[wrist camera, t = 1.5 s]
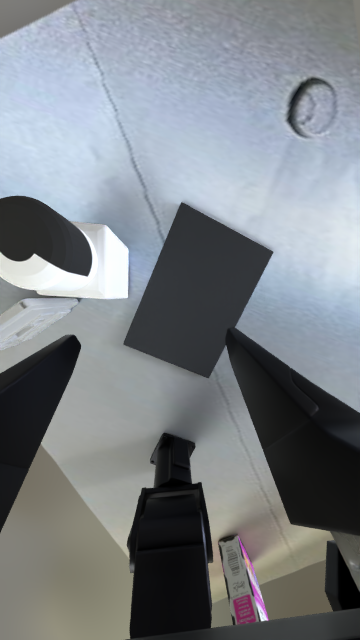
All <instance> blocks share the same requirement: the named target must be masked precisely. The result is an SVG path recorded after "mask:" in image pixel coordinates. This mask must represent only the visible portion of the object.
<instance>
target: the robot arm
mask: <svg viewBox="0 0 360 640" xmlns="http://www.w3.org/2000/svg"><path fill="white" fill-rule="evenodd" d="M225 342H226V346H227V350H228V354H229V358H230V362H231V365H232V368H233V371H234V374H235V376H236V379H237V382H238V384H239V387H240V390H241V392H242V395H243V398H244V400H245V403H246V406H247V408H248V411H249V414H250V417H251V419H252V422H253V425H254V427H255V430H256V433H257V435H258V438H259V441H260V443H261V446H262V449H263V452H264V454H265V457H266V460H267V462H268V465H269V468H270V470H271V473H272V476H273V479H274V481H275V484H276V487H277V489H278V492H279V495H280V497H281V500H282V503H283V505H284V508H285V511H286V513H287V516H288V519H289V521H290V523H291V524H292V525H298V526H304V527H309V528H315V529H321V530H327V531H330V532H331V534H332V536H333V538H334V540H332V541H327V553H326V578H325V592H326V595H327V597H328V600H329V602H330V605H331V607H332V610H333V612H327V613H320V614H312V615H305V616H297V617H290V618H283V619H275V620H268V621H260V622H253V623H245V624H238V625H231V626H223V627H216V628H211V620H212V617H211V610H212V600H211V590H210V580H209V571H208V563H213V551H212V541H211V533H210V526H209V520H208V514H207V509H206V504H205V498H204V493H203V488H202V483H201V482H198V483H196V484H192V479H191V470H190V456H191V455H192V453H193V451H194V449H195V443H194V442H191V441H188V440H185V439H182V438H179V437H176V436H173V435H170V434H167V433H163V434H162V436H161V438H160V440H159V442H158V444H157V446H156V448H155V450H154V453H153V455H152V457H151V459H150V463H151V464H154V465H156V469H155V479H154V488H142V491H141V495H140V496H139V499H138V504H137V509H136V513H135V517H134V521H133V525H132V528H131V531H130V534H129V537H128V541H127V547H128V550H129V552H130V573H134V577H133V591H132V604H131V619H130V639H127V640H360V413H359V412H357V411H356V410H354V409H353V408H351V407H349V406H348V405H346V404H345V403H343V402H342V401H340V400H338V399H337V398H335V397H334V396H332V395H331V394H329V393H327V392H326V391H324V390H323V389H321V388H320V387H318V386H317V385H315V384H313V383H312V382H310V381H309V380H308V379H306V378H305V377H303V376H302V375H300V374H299V373H298V372H296V371H295V370H293V369H292V368H290V367H289V366H288V365H286V364H285V363H284V362H282V361H281V360H279V359H278V358H277V357H275V356H274V355H272V354H271V353H270V352H268V351H267V350H265V349H264V348H263V347H261V346H260V345H258V344H257V343H256V342H254V341H253V340H252V339H250V338H249V337H247V336H246V335H245V334H243V333H242V332H240V331H239V330H238V329H236V328H228V329H227V333H226V337H225ZM80 349H81V344H80V342H79V341H78V339H77V338H76V336H75V335H65V336H63V337H61V338H60V339H58V340H56V341H55V342H53V343H51V344H50V345H48V346H46V347H44V348H43V349H41V350H39V351H38V352H36V353H34V354H33V355H31V356H29V357H28V358H26V359H24V360H22V361H21V362H19V363H17V364H16V365H14V366H12V367H11V368H9V369H7V370H5V371H4V372H2V373H0V532H1V530H2V528H3V526H4V523H5V521H6V519H7V517H8V515H9V512H10V510H11V508H12V505H13V503H14V501H15V499H16V497H17V495H18V492H19V490H20V488H21V486H22V484H23V481H24V479H25V477H26V475H27V473H28V470H29V468H30V466H31V464H32V461H33V459H34V457H35V455H36V452H37V450H38V448H39V446H40V444H41V442H42V439H43V437H44V435H45V433H46V430H47V428H48V426H49V424H50V422H51V419H52V417H53V415H54V413H55V411H56V408H57V406H58V404H59V402H60V400H61V397H62V395H63V393H64V391H65V389H66V386H67V384H68V382H69V380H70V378H71V375H72V373H73V370H74V368H75V365H76V361H77V358H78V355H79V352H80ZM164 436H165V437H164Z"/></svg>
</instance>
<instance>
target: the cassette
mask: <svg viewBox="0 0 360 640" xmlns="http://www.w3.org/2000/svg"><path fill="white" fill-rule="evenodd" d="M78 303H79V302H78V300H77V299H76V298H26V299H22V300H21V301H19V302H18V303H16V304H15V305H14V306H12V307H11V308H9V309H8V310H6V311H5V312H3V313H2V314H1V315H0V350H3V349H6V348H9V347H12V346H16V345H18V344H20V343H21V342H23V341H27V340H30V339H31V338H33V337H34V336H36V335H37V334H39V333H40V332H42V331H43V330H45V329H46V328H48V327H49V326H51V325H52V324H53V323H55V322H56V321H58V320H59V319H61V318H62V317H64V316H65V315H67V314H68V313H70V312H71V308H73V307H74V306H76V305H77V304H78Z"/></svg>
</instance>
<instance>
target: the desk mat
mask: <svg viewBox="0 0 360 640" xmlns="http://www.w3.org/2000/svg"><path fill="white" fill-rule="evenodd" d="M272 254H273V251H271V250H269V249H267V248H265V247H264V246H262V245H260V244H258V243H256V242H254V241H252V240H251V239H249V238H247V237H245V236H243V235H241V234H240V233H238V232H236V231H234V230H232V229H230V228H228V227H227V226H225V225H223V224H221V223H219V222H217V221H216V220H214V219H212V218H210V217H208V216H206V215H204V214H203V213H201V212H199V211H197V210H195V209H193V208H192V207H190V206H188V205H186V204H184V203H182V202H181V204H180V207H179V209H178V212H177V214H176V217H175V219H174V221H173V224H172V226H171V229H170V231H169V234H168V236H167V239H166V241H165V243H164V246H163V248H162V251H161V253H160V256H159V258H158V261H157V263H156V265H155V268H154V270H153V273H152V275H151V278H150V280H149V283H148V285H147V287H146V290H145V292H144V295H143V297H142V300H141V302H140V305H139V307H138V309H137V312H136V314H135V317H134V319H133V322H132V324H131V327H130V329H129V331H128V334H127V336H126V339H125V341H124V345H126V346H129V347H131V348H134V349H136V350H139V351H141V352H144V353H146V354H149V355H151V356H154V357H156V358H159V359H161V360H164V361H166V362H169V363H171V364H174V365H176V366H179V367H181V368H184V369H187V370H189V371H192V372H194V373H197V374H199V375H202V376H204V377H207V378H209V377H210V375H211V373H212V371H213V369H214V367H215V365H216V363H217V361H218V359H219V357H220V355H221V353H222V351H223V349H224V347H225V345H226V342H225V337H226V333H227V329H228V328H235V326H236V324H237V322H238V320H239V318H240V316H241V314H242V312H243V310H244V308H245V306H246V305H247V303H248V301H249V299H250V297H251V295H252V293H253V291H254V289H255V287H256V285H257V283H258V281H259V279H260V277H261V275H262V273H263V271H264V269H265V268H266V266H267V264H268V262H269V260H270V258H271V256H272Z"/></svg>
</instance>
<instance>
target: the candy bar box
mask: <svg viewBox="0 0 360 640" xmlns="http://www.w3.org/2000/svg"><path fill="white" fill-rule="evenodd" d="M218 545H219V550H220V556H221V561H222V567H223V572H224V578H225V583H226V589H227V594H228V599H229V605H230V611H231V616H232V621H233V625H238V624H245V623H253V622H260V621H268V620H269V619H268V616H267V613H266V609H265V606H264V603H263V599H262V596H261V592H260V589H259V585H258V582H257V579H256V575H255V572H254V568H253V565H252V563H251V561H250V559H249V557H248V555H247V553H246V551H245V549H244V547H243V544H242V542H241V540H240V538H239V536H238V535H235V536H232V537H229V538H226V539H223V540H221V541H219V542H218Z"/></svg>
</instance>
